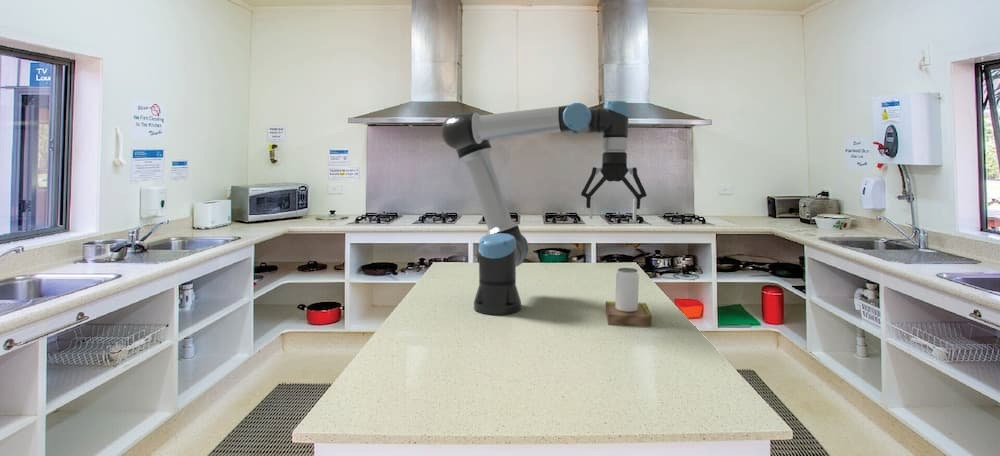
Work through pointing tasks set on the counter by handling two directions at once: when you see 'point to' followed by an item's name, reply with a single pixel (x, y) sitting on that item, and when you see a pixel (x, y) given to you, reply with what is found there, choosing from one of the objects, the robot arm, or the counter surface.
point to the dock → (628, 315)
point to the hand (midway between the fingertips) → (612, 219)
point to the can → (627, 290)
